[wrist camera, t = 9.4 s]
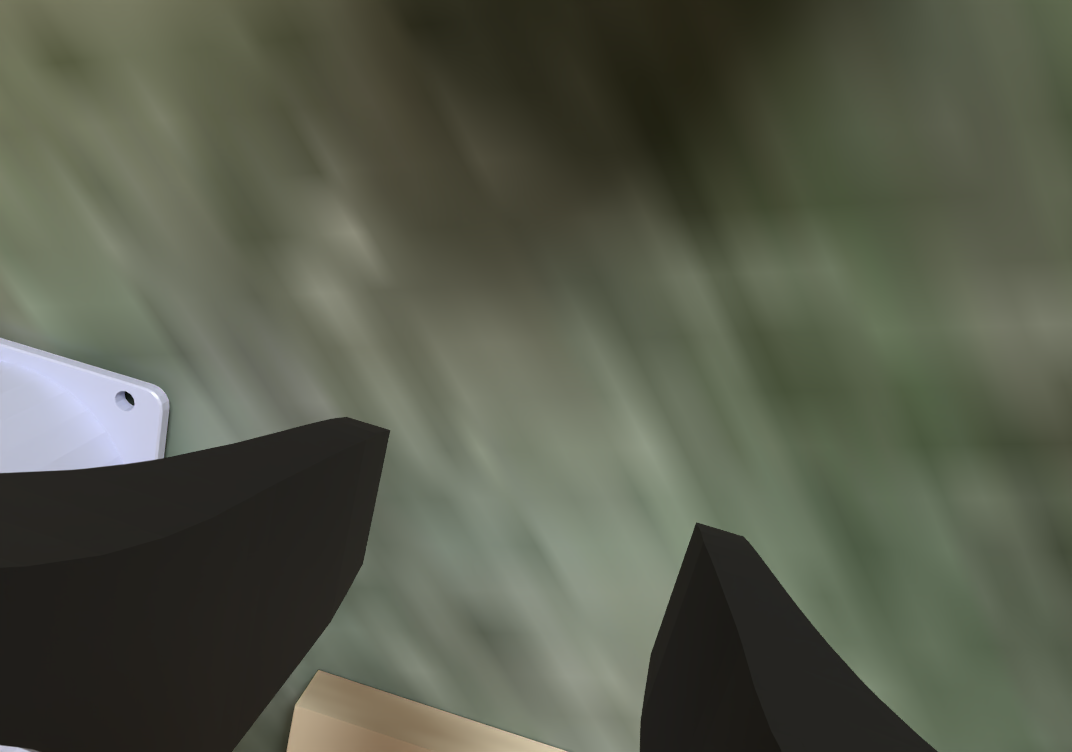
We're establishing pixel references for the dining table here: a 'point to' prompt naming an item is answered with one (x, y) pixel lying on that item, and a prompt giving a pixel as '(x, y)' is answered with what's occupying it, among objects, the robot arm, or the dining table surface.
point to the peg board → (388, 724)
